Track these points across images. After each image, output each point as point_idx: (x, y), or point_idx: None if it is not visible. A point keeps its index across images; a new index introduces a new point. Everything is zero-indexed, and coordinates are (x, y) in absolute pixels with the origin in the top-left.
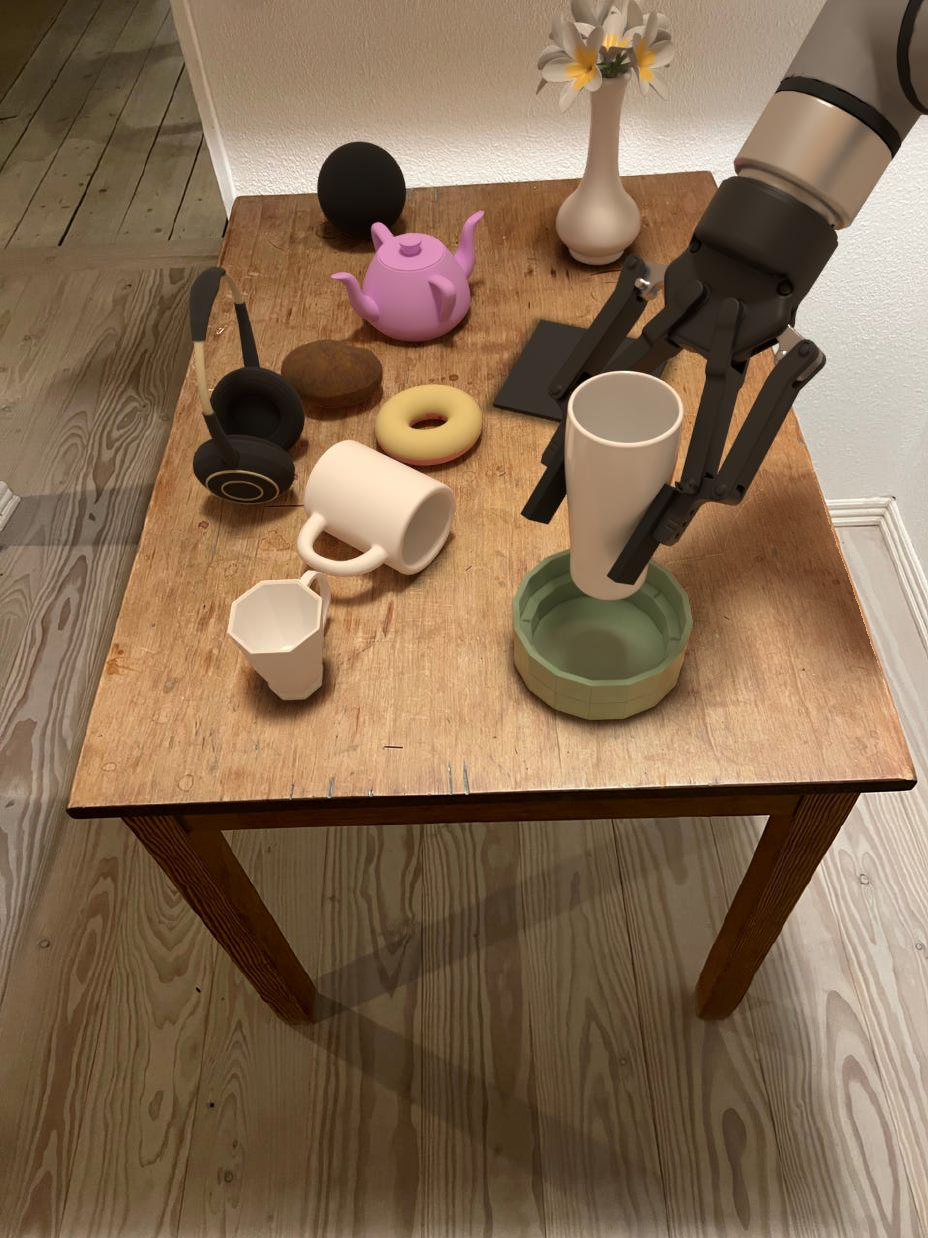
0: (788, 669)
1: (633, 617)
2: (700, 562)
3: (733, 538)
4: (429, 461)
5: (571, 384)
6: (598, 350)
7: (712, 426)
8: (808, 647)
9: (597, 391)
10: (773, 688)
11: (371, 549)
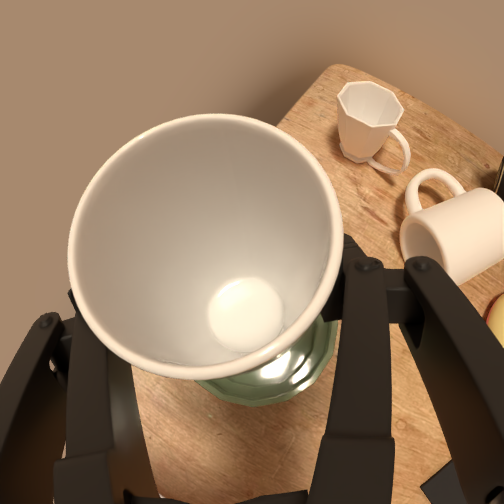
0: (156, 430)
1: (263, 373)
2: (277, 457)
3: (280, 493)
4: (488, 316)
5: (413, 285)
6: (445, 352)
7: (70, 376)
8: (161, 456)
9: (325, 257)
10: (150, 410)
11: (420, 205)
